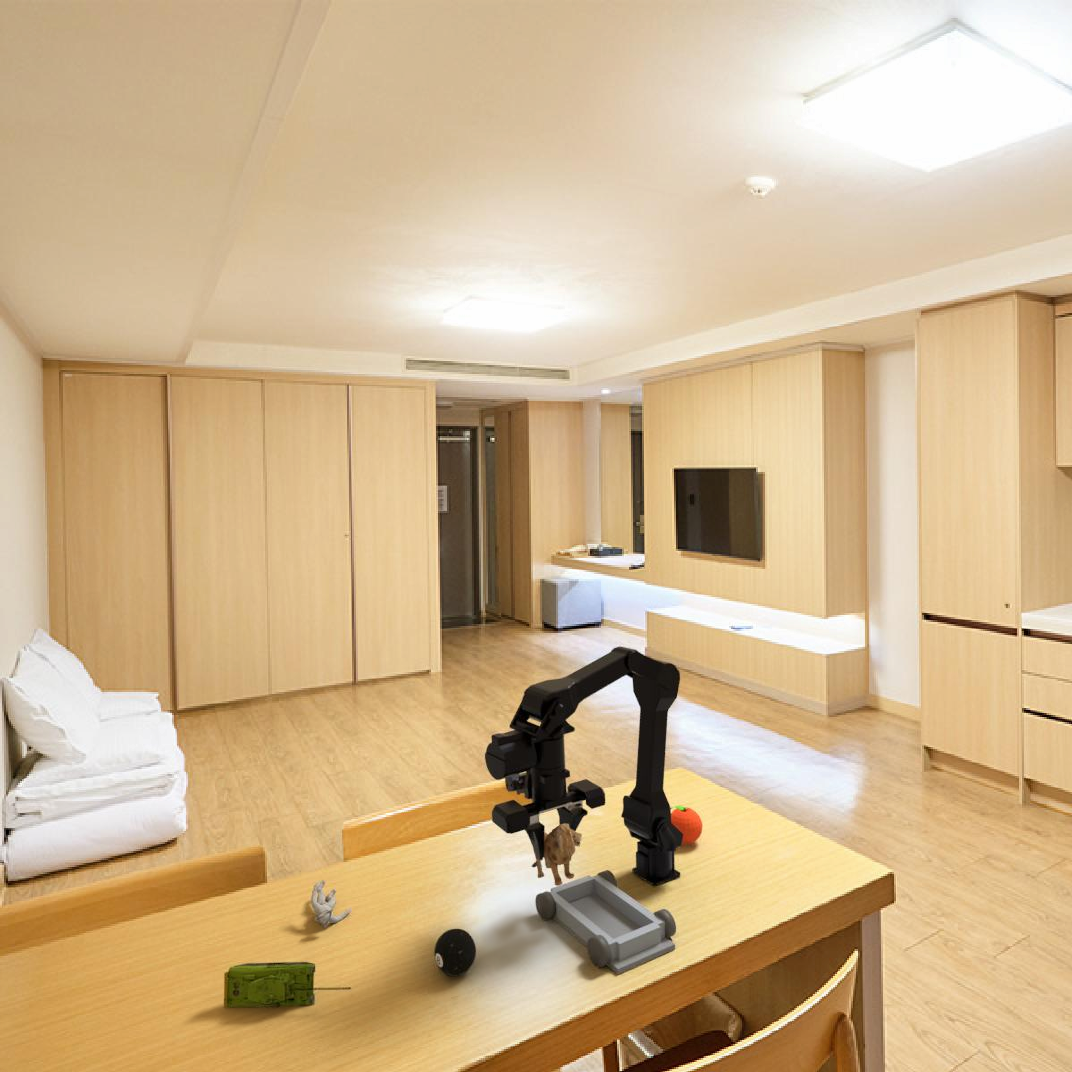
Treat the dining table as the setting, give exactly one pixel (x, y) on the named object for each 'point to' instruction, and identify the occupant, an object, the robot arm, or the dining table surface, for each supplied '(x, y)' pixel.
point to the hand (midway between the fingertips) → (551, 855)
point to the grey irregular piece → (325, 905)
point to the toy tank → (270, 984)
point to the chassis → (608, 921)
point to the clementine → (687, 823)
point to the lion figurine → (558, 851)
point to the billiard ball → (455, 952)
